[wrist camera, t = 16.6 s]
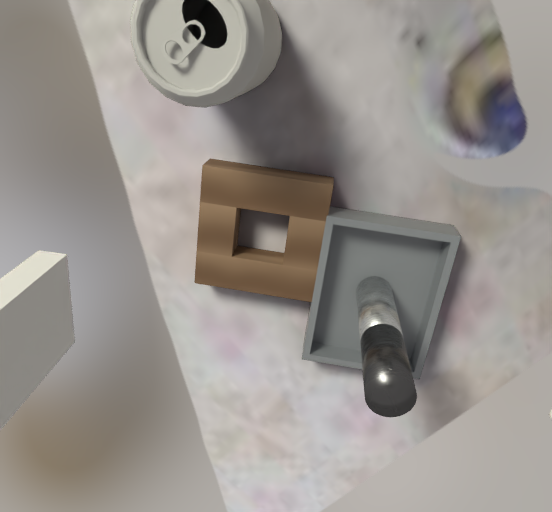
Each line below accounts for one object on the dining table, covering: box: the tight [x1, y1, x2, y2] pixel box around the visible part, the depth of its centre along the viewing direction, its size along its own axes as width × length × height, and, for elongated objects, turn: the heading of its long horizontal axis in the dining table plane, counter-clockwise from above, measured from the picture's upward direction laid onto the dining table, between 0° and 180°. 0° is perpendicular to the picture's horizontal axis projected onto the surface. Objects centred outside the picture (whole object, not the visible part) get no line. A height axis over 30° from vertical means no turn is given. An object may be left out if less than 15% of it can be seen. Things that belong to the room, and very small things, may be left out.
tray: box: [302, 206, 461, 379], centre depth 42 cm, size 13×10×3 cm
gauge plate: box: [195, 159, 334, 302], centre depth 41 cm, size 10×10×2 cm
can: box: [130, 0, 282, 108], centre depth 31 cm, size 8×8×12 cm
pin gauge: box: [356, 276, 417, 417], centre depth 36 cm, size 3×3×14 cm
